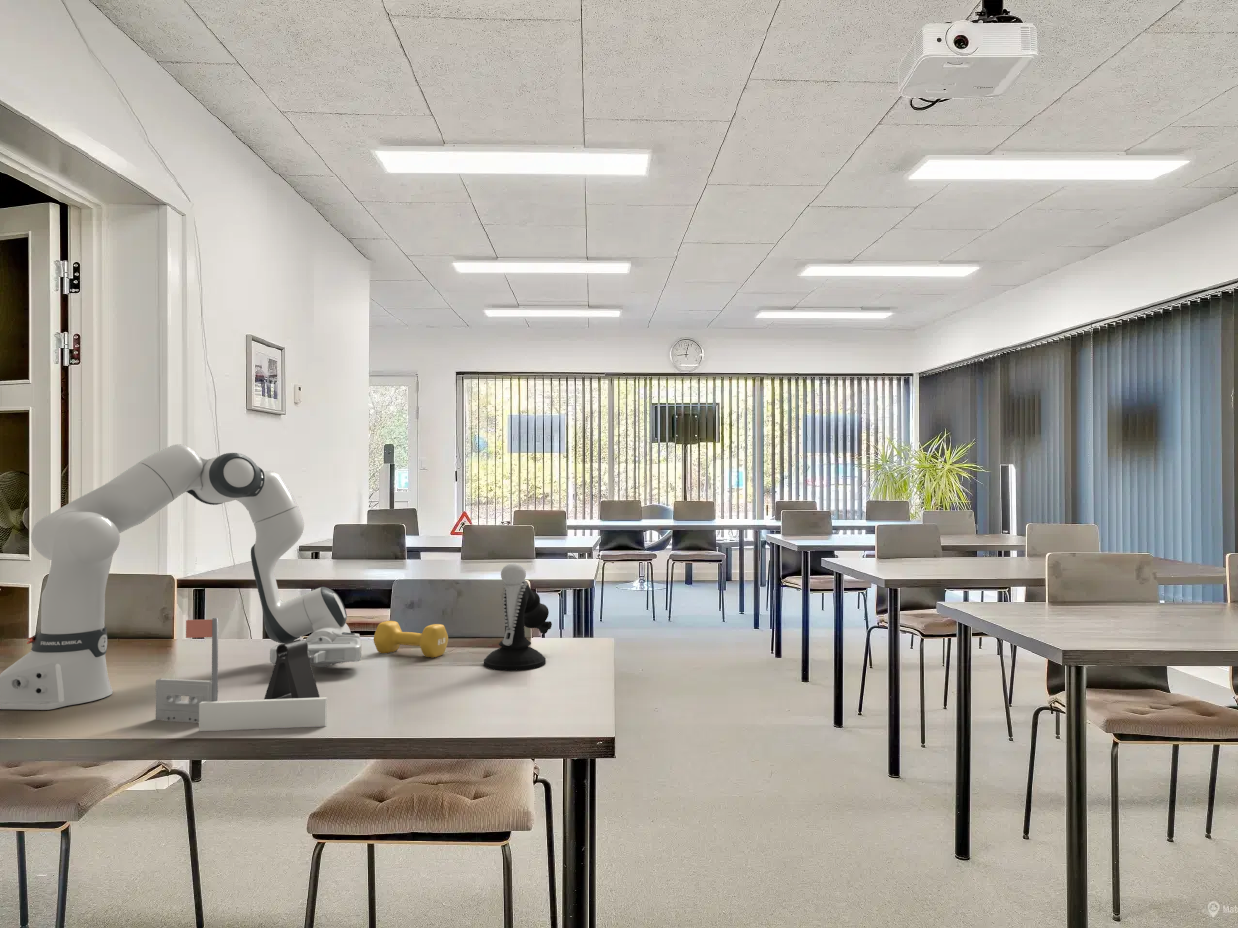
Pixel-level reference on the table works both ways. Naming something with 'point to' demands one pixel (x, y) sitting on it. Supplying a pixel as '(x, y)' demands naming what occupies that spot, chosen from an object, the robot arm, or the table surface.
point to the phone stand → (292, 673)
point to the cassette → (171, 703)
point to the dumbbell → (411, 638)
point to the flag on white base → (251, 711)
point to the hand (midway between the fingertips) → (309, 659)
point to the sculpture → (519, 623)
